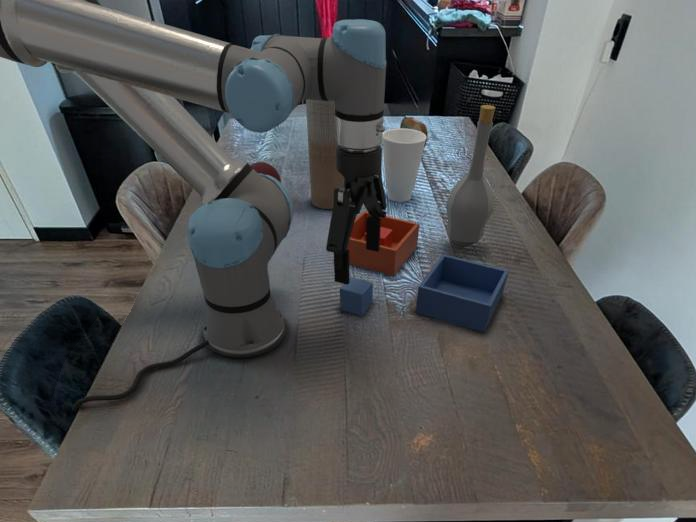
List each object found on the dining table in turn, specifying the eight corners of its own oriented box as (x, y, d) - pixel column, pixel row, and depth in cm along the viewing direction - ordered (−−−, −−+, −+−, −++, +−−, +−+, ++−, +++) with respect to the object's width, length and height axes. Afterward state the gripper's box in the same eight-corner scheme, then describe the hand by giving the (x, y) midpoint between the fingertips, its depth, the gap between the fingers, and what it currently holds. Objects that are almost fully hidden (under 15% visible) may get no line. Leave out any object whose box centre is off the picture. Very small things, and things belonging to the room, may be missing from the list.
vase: (353, 200, 134) (354, 83, 114) (334, 213, 128) (331, 92, 108) (324, 192, 137) (320, 77, 117) (304, 204, 132) (296, 85, 111)
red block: (383, 258, 111) (384, 238, 107) (363, 253, 112) (364, 233, 109) (391, 249, 114) (392, 229, 110) (372, 244, 116) (373, 224, 112)
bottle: (449, 260, 112) (474, 116, 90) (432, 238, 120) (451, 100, 98) (492, 255, 115) (527, 113, 93) (473, 234, 122) (500, 98, 100)
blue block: (361, 316, 96) (362, 294, 93) (340, 309, 98) (339, 288, 94) (372, 303, 99) (373, 282, 96) (350, 297, 101) (351, 276, 97)
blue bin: (484, 332, 94) (490, 306, 89) (415, 312, 98) (418, 286, 93) (502, 295, 103) (509, 270, 98) (438, 278, 107) (442, 253, 102)
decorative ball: (273, 211, 128) (268, 172, 121) (240, 205, 130) (233, 166, 123) (288, 197, 135) (285, 159, 127) (257, 191, 137) (252, 154, 129)
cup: (398, 209, 131) (402, 146, 119) (370, 195, 137) (372, 133, 125) (428, 198, 136) (436, 137, 124) (400, 185, 142) (405, 125, 131)
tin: (398, 140, 170) (400, 113, 164) (406, 139, 171) (408, 112, 164) (419, 154, 160) (421, 126, 154) (427, 153, 161) (430, 125, 155)
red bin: (393, 275, 107) (395, 250, 103) (336, 260, 111) (336, 235, 107) (417, 247, 116) (419, 223, 112) (363, 234, 120) (363, 210, 116)
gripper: (344, 175, 67) (346, 303, 83) (409, 126, 83) (400, 241, 98) (299, 166, 69) (309, 292, 85) (370, 120, 85) (367, 234, 100)
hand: (358, 265), depth 92 cm, fingers open, 13 cm apart
